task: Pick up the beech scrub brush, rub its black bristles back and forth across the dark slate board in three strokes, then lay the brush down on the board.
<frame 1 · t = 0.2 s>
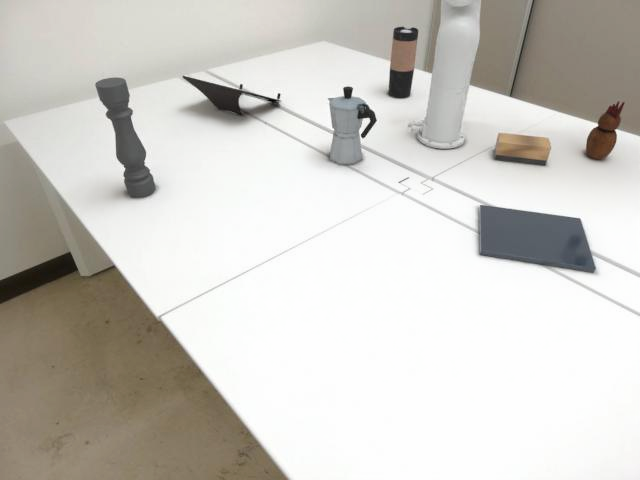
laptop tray: (240, 107, 143), on the table
coffee maker: (349, 158, 117), on the table
slate board: (531, 237, 91), on the table
wooden figurine: (594, 156, 117), on the table
candle holder: (142, 191, 105), on the table
scrub brush: (518, 157, 116), on the table
travel mug: (399, 94, 151), on the table
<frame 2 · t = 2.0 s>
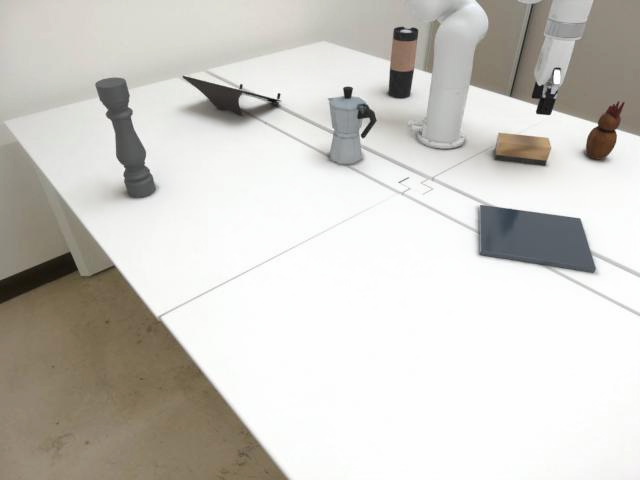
hand: (540, 106, 108), 14 cm above the table, tool pointing down, fingers open, 9 cm apart
nothing on the table moved.
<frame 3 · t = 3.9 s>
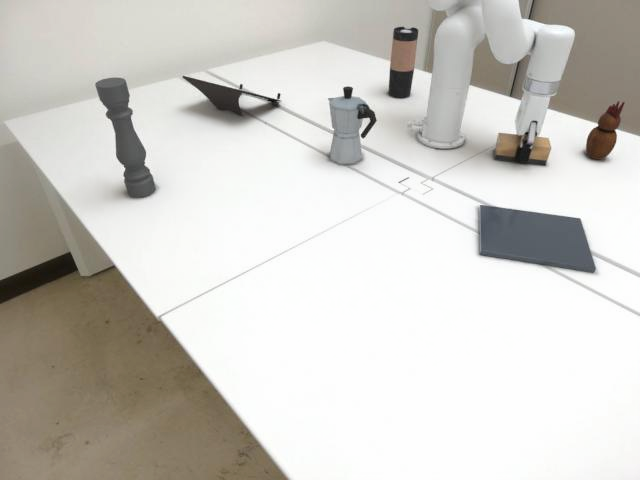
hand: (519, 154, 116), 1 cm above the table, tool pointing down, fingers closed on scrub brush, 5 cm apart
scrub brush: (518, 157, 116), on the table, touching gripper
everything else where it was.
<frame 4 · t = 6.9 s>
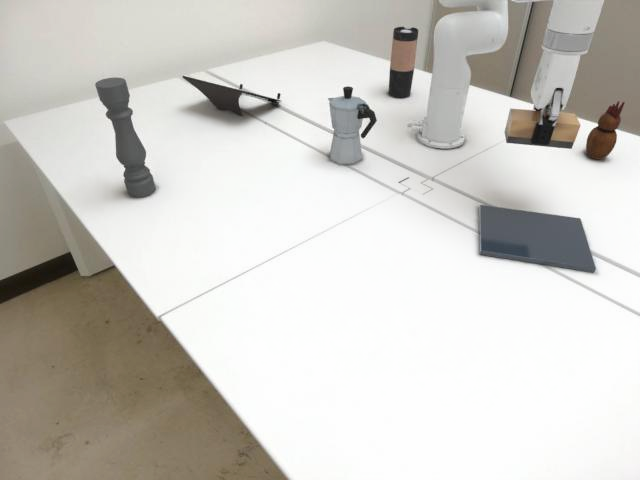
hand: (537, 136, 90), 16 cm above the table, tool pointing down, fingers closed on scrub brush, 5 cm apart
scrub brush: (536, 140, 91), point 15 cm above the table, touching gripper
everything else where it was.
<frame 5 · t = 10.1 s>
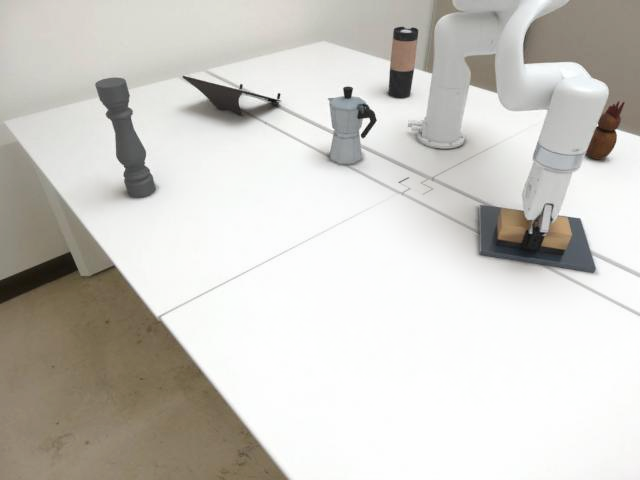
hand: (528, 238, 88), 2 cm above the table, tool pointing down, fingers closed on scrub brush, 5 cm apart
scrub brush: (527, 241, 88), point 1 cm above the table, touching gripper
everything else where it was.
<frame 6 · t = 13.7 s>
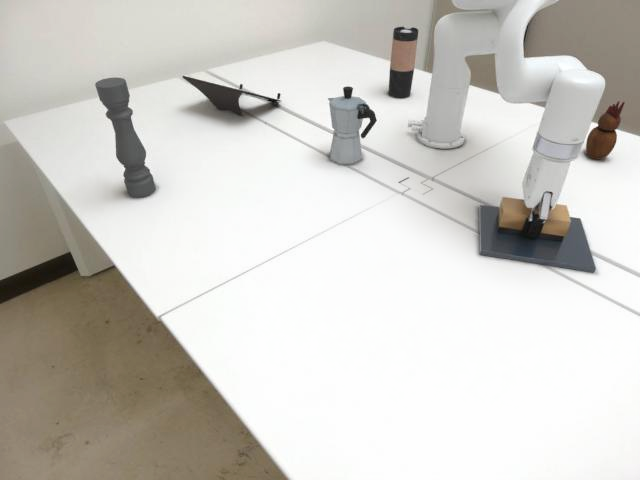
hand: (528, 226, 91), 2 cm above the table, tool pointing down, fingers closed on scrub brush, 5 cm apart
scrub brush: (528, 229, 91), point 1 cm above the table, touching gripper
everything else where it was.
when the fingers open (2 cm above the table, at t = 16.4 s): scrub brush stays where it is, resting on slate board.
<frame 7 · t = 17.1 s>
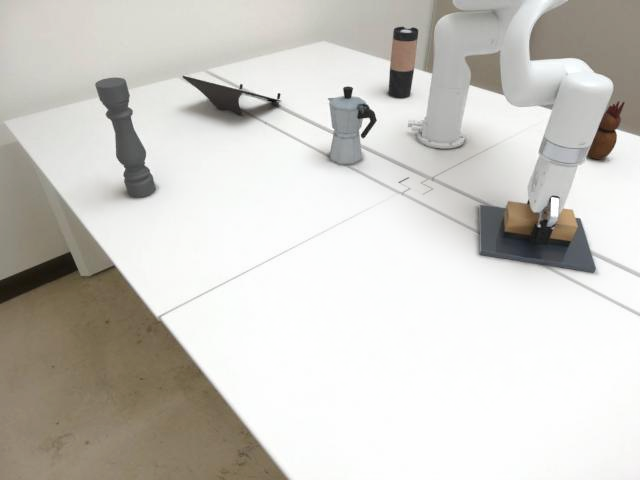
hand: (535, 227, 89), 3 cm above the table, tool pointing down, fingers open, 9 cm apart
scrub brush: (533, 233, 90), point 1 cm above the table, touching slate board
everything else where it was.
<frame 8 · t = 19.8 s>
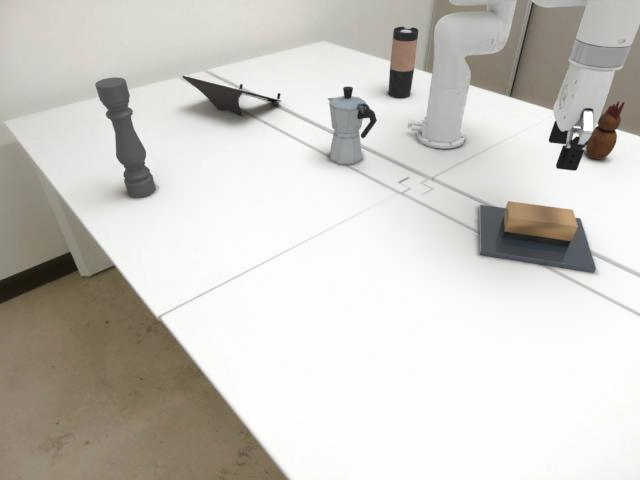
hand: (561, 155, 79), 18 cm above the table, tool pointing down, fingers open, 9 cm apart
nothing on the table moved.
at the end: scrub brush inside the target area on the slate board (0.2 cm from its centre), point 1.0 cm above the slate board's base; the gripper is holding nothing; scrub brush tilted 0° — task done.
